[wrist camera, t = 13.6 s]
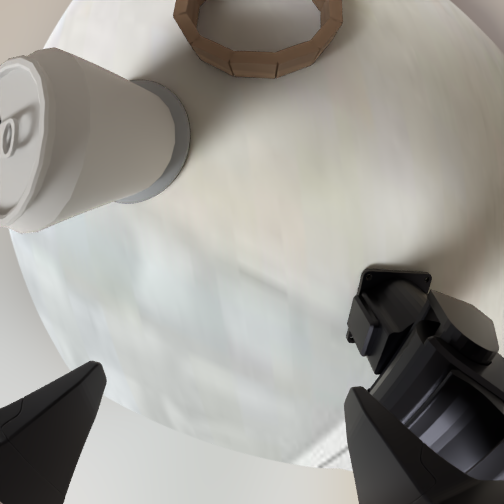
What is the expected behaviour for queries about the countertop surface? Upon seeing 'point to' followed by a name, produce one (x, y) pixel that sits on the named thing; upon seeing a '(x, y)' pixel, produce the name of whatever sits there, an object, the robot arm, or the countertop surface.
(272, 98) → the countertop surface
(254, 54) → the collar
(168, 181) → the mat
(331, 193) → the countertop surface
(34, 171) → the can
